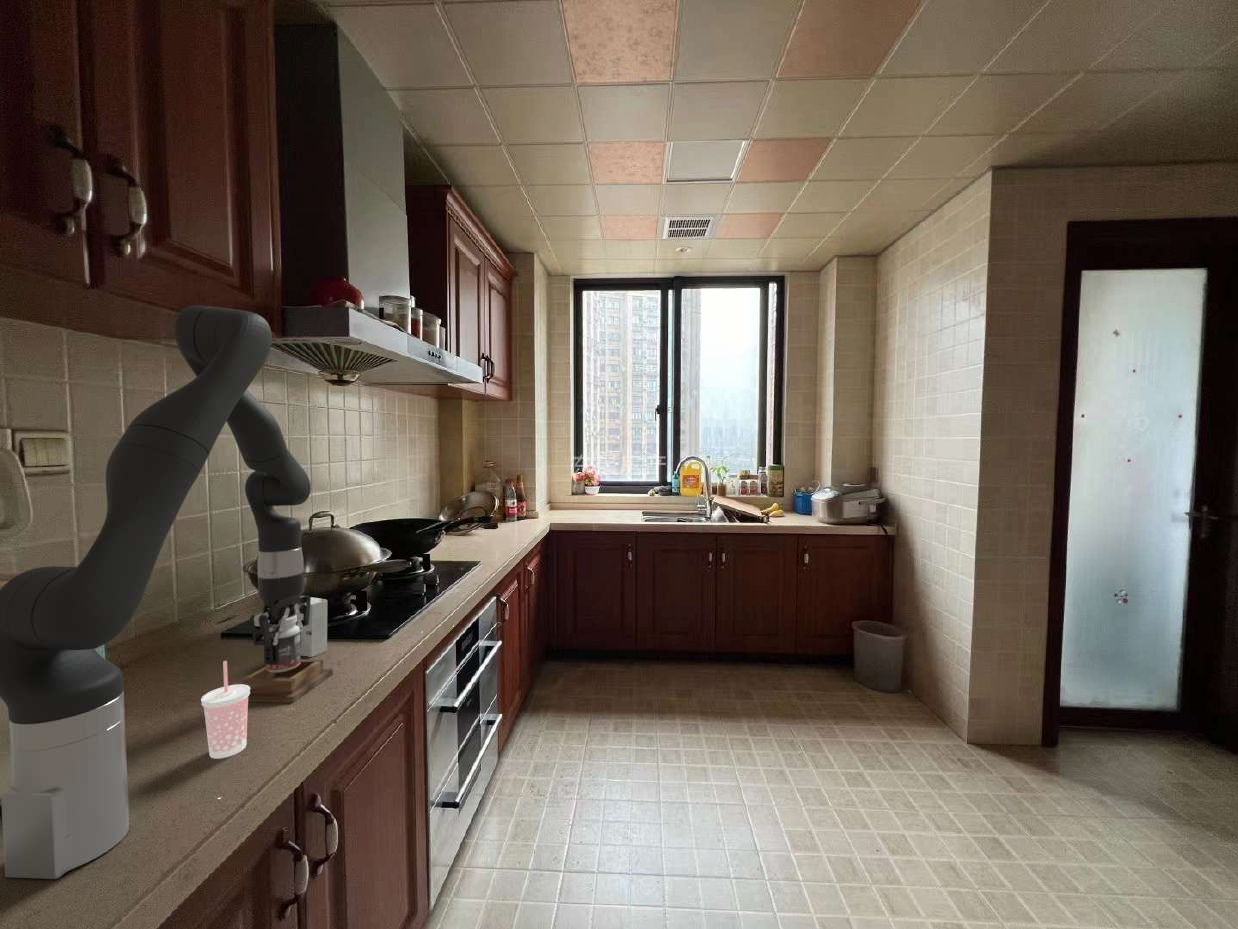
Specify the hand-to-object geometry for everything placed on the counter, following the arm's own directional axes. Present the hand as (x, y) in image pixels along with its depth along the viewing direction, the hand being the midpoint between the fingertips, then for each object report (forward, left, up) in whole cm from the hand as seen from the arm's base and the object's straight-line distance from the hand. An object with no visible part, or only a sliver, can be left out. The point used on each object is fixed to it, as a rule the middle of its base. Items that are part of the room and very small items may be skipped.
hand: (283, 657), depth 103 cm
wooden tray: (0, 0, -6) cm, 6 cm away
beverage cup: (-21, -6, -6) cm, 23 cm away
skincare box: (+17, +6, -6) cm, 19 cm away
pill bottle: (0, 0, -2) cm, 2 cm away
